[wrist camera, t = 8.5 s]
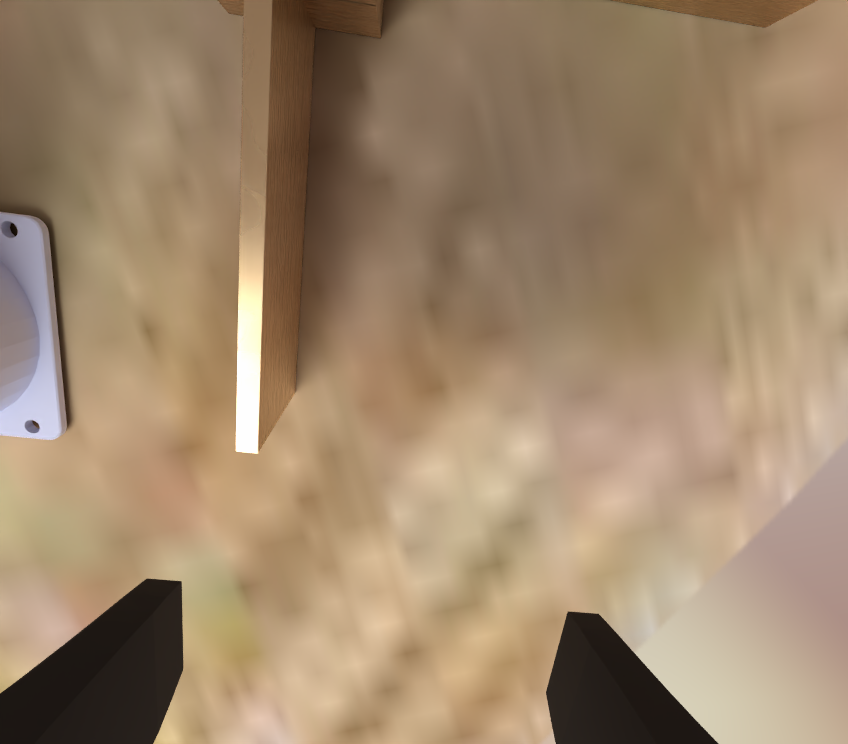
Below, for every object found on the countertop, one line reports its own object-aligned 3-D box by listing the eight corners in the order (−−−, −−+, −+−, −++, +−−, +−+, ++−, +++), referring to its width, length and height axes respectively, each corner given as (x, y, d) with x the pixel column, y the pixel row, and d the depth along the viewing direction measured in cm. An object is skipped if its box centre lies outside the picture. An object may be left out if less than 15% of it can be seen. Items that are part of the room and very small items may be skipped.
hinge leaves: (225, 385, 18) (162, 444, 14) (230, -181, 14) (136, -397, 9) (648, 430, 20) (726, 499, 15) (794, -73, 15) (979, -210, 10)
